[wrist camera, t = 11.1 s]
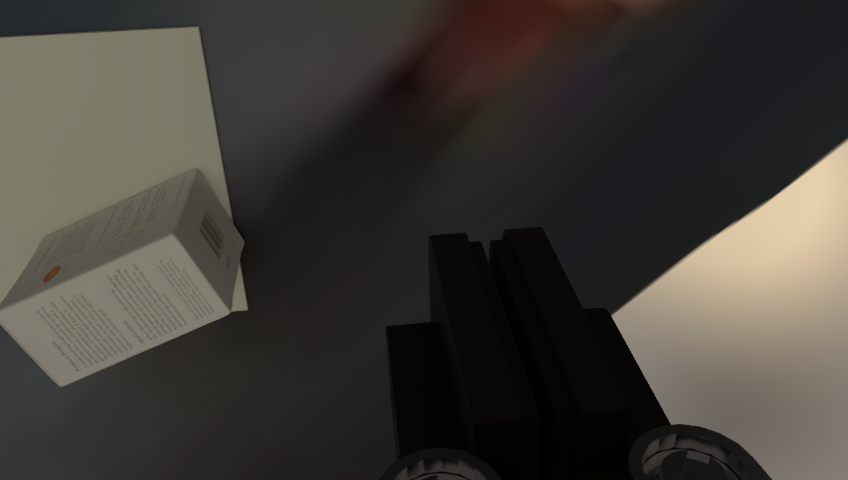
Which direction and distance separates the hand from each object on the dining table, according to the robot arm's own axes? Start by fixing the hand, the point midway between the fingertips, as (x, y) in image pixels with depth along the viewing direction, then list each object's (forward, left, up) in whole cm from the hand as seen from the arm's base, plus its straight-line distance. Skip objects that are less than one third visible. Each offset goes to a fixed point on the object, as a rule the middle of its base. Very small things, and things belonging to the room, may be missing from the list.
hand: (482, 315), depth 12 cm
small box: (+10, +13, -28) cm, 32 cm away
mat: (+17, +12, -32) cm, 38 cm away
